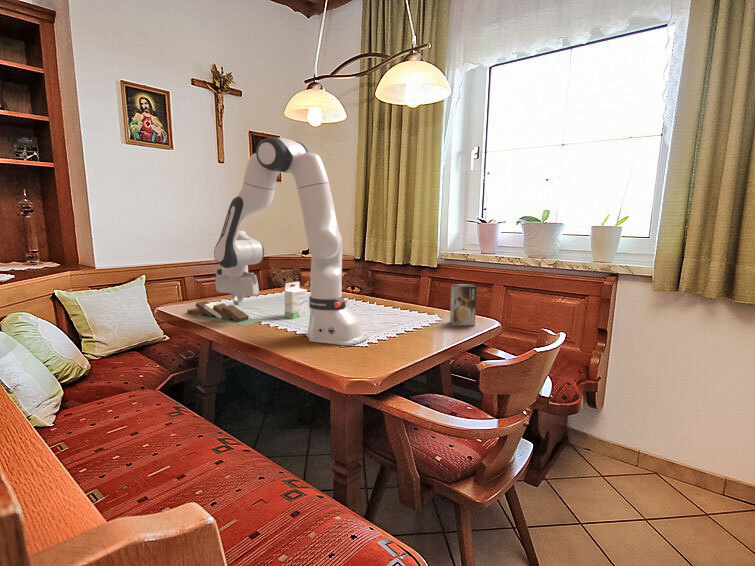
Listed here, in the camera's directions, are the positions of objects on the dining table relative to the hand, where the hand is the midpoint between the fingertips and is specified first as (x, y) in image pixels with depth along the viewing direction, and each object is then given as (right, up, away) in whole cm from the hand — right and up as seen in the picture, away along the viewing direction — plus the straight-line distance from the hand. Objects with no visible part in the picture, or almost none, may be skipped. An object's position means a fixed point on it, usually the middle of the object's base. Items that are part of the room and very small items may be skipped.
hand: (237, 304), depth 161 cm
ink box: (+22, -6, +9) cm, 24 cm away
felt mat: (-5, -6, +3) cm, 9 cm away
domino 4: (+3, -6, 0) cm, 6 cm away
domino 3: (-2, -5, +2) cm, 6 cm away
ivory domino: (-6, -5, +4) cm, 9 cm away
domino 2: (-11, -4, +6) cm, 13 cm away
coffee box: (+91, -8, +3) cm, 91 cm away
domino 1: (-15, -4, +8) cm, 18 cm away
